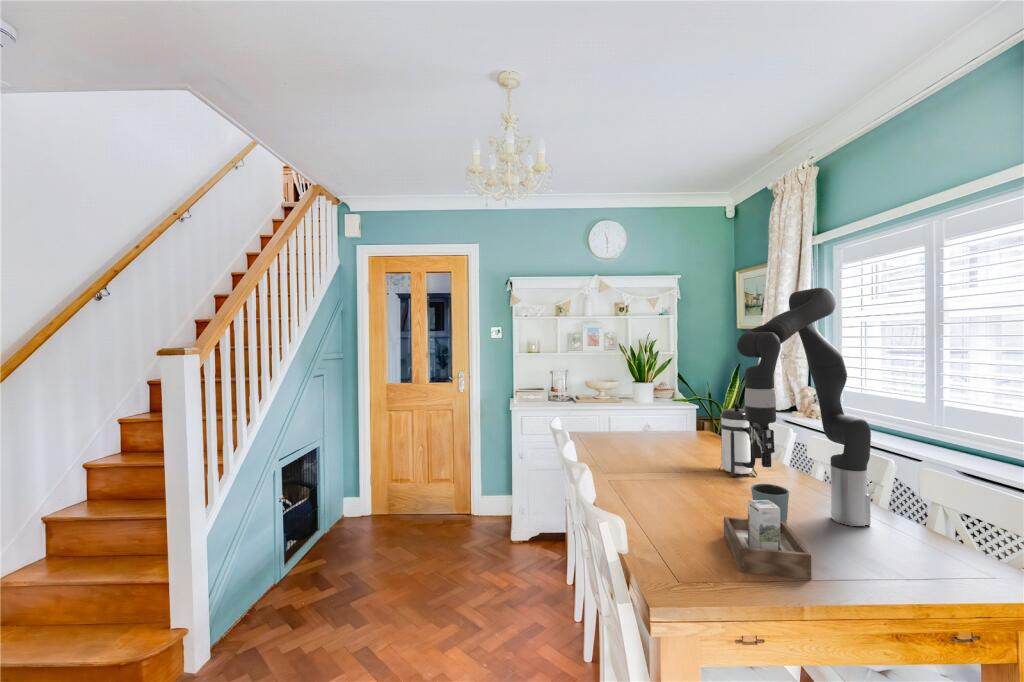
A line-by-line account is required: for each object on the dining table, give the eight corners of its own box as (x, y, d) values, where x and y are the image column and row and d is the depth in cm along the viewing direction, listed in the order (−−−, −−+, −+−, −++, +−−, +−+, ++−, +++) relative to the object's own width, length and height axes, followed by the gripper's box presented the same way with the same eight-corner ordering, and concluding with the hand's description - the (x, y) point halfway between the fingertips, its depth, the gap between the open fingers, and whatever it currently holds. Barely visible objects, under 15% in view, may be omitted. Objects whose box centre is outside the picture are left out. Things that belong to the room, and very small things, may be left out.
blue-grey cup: (789, 524, 141) (788, 486, 140) (789, 537, 132) (789, 496, 132) (752, 518, 146) (752, 481, 146) (750, 530, 137) (750, 491, 137)
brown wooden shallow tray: (784, 542, 129) (784, 521, 129) (811, 579, 110) (811, 555, 109) (723, 537, 133) (723, 516, 133) (739, 571, 114) (739, 548, 114)
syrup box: (768, 550, 124) (767, 498, 124) (781, 561, 118) (780, 507, 118) (747, 551, 124) (747, 499, 124) (759, 562, 118) (758, 507, 118)
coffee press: (711, 474, 191) (710, 404, 191) (727, 466, 202) (726, 399, 202) (755, 483, 178) (754, 408, 178) (769, 474, 189) (768, 403, 189)
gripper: (784, 408, 117) (785, 470, 117) (767, 400, 130) (768, 455, 131) (752, 408, 118) (754, 469, 119) (738, 400, 132) (740, 454, 132)
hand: (761, 462), depth 125 cm, fingers open, 8 cm apart
